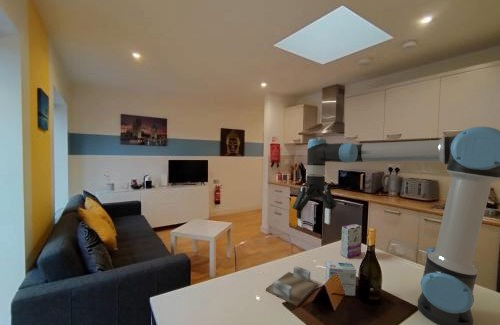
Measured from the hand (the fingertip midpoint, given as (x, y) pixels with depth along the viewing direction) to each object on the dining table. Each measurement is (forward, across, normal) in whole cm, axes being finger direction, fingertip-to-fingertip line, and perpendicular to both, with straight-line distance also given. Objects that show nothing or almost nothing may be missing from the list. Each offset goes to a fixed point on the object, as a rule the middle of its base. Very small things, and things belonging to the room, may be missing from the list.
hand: (314, 224), depth 101 cm
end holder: (+25, +10, +1) cm, 27 cm away
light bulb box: (+26, -8, +8) cm, 28 cm away
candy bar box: (+25, -38, -18) cm, 49 cm away
